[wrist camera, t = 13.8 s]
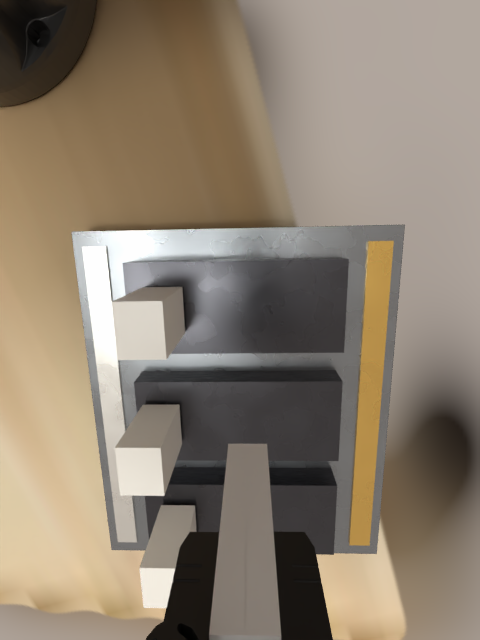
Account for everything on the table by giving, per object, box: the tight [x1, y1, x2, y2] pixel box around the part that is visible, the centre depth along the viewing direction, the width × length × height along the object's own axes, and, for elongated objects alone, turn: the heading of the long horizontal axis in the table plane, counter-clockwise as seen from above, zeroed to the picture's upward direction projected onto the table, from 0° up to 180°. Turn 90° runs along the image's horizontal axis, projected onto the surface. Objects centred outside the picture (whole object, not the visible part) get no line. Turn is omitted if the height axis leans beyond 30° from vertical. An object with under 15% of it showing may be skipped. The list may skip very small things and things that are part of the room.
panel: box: [72, 225, 405, 555], centre depth 26 cm, size 26×22×4 cm
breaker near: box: [111, 287, 185, 360], centre depth 20 cm, size 3×2×5 cm
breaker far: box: [140, 505, 197, 608], centre depth 24 cm, size 3×2×5 cm
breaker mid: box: [115, 405, 182, 496], centre depth 22 cm, size 3×2×5 cm
